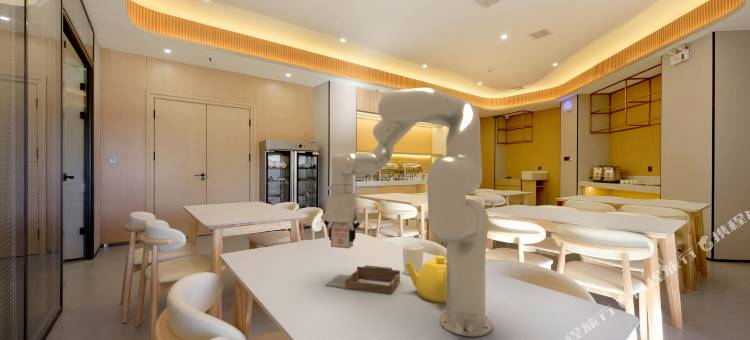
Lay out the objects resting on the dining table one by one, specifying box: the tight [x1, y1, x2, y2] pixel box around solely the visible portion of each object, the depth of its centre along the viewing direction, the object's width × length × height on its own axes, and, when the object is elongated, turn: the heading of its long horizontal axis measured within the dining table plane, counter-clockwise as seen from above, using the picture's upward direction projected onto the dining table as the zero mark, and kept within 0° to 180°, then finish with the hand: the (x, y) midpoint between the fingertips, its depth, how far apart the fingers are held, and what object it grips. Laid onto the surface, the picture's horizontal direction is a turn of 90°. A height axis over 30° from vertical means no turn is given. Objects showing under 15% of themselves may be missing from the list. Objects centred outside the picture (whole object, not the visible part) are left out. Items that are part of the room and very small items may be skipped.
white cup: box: [402, 244, 424, 276], centre depth 120 cm, size 8×8×10 cm
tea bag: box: [330, 222, 354, 249], centre depth 111 cm, size 4×7×10 cm, turn 72°
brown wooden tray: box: [344, 264, 401, 296], centre depth 107 cm, size 12×16×5 cm
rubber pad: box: [325, 273, 352, 289], centre depth 111 cm, size 11×7×1 cm, turn 163°
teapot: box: [406, 254, 446, 304], centre depth 100 cm, size 17×17×12 cm
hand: (341, 239), depth 111 cm, fingers closed on tea bag, 6 cm apart
